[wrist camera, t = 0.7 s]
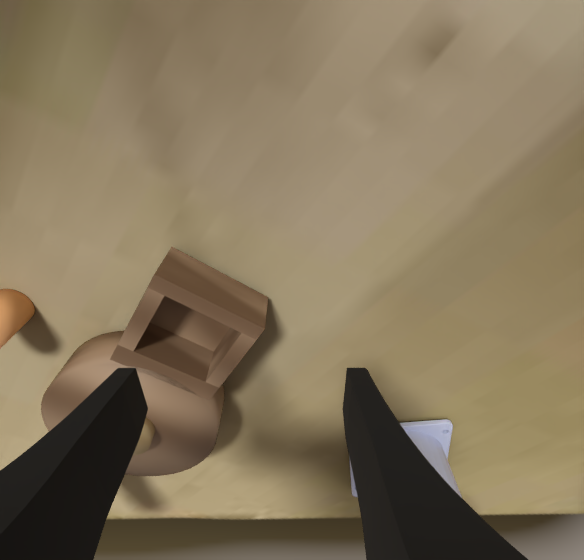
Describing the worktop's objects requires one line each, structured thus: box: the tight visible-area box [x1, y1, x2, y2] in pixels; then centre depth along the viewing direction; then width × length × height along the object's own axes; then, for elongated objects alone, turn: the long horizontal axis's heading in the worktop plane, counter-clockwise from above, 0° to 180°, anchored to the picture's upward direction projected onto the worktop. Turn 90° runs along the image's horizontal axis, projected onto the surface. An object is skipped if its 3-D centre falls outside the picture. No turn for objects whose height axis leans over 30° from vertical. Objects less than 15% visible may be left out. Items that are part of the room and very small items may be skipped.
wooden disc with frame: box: [41, 247, 268, 476], centre depth 23 cm, size 17×11×4 cm, turn 147°
